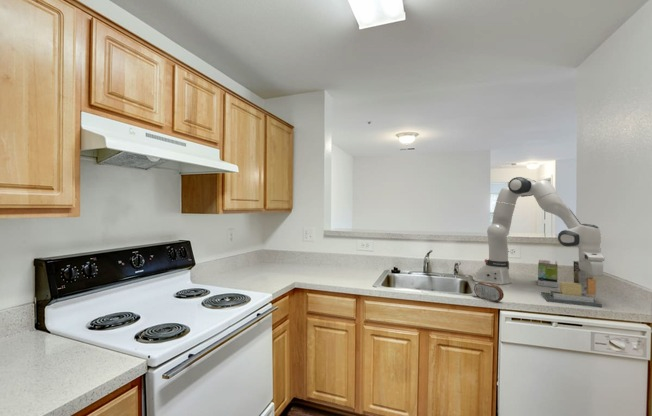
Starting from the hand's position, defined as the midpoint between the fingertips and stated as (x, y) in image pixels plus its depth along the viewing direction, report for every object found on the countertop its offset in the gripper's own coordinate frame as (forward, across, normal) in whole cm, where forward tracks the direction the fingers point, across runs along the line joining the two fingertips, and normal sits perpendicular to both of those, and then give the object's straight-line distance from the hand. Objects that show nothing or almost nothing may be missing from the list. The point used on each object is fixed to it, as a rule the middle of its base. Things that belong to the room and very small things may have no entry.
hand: (589, 281), depth 156 cm
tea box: (+11, -33, -10) cm, 36 cm away
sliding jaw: (+8, +2, -8) cm, 12 cm away
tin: (+10, +19, -49) cm, 53 cm away
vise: (+10, +5, -10) cm, 15 cm away
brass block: (+9, +6, -10) cm, 14 cm away
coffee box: (+11, -27, +5) cm, 29 cm away
